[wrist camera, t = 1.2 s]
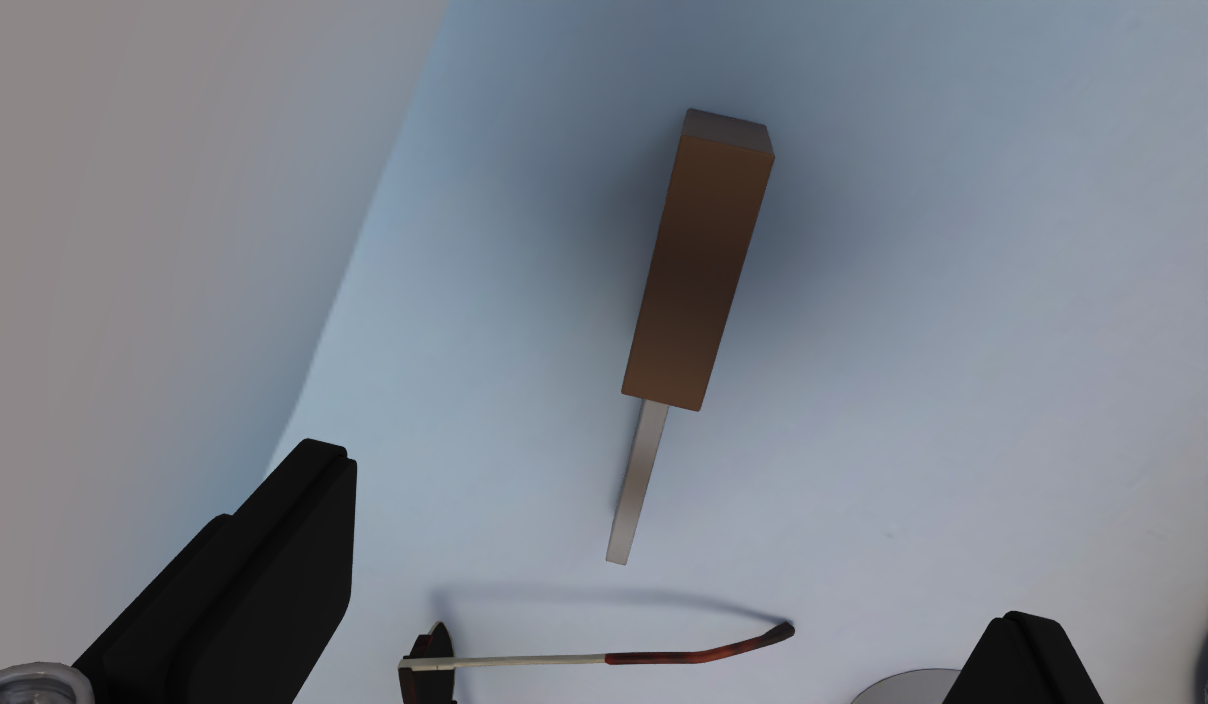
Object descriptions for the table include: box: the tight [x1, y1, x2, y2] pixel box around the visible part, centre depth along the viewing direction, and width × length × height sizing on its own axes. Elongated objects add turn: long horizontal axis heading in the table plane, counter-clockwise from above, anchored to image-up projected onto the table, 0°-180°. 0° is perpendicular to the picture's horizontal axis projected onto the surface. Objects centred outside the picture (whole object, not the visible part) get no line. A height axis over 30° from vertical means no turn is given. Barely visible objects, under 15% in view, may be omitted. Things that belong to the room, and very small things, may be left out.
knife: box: [606, 109, 775, 565], centre depth 25 cm, size 16×2×4 cm, turn 169°
